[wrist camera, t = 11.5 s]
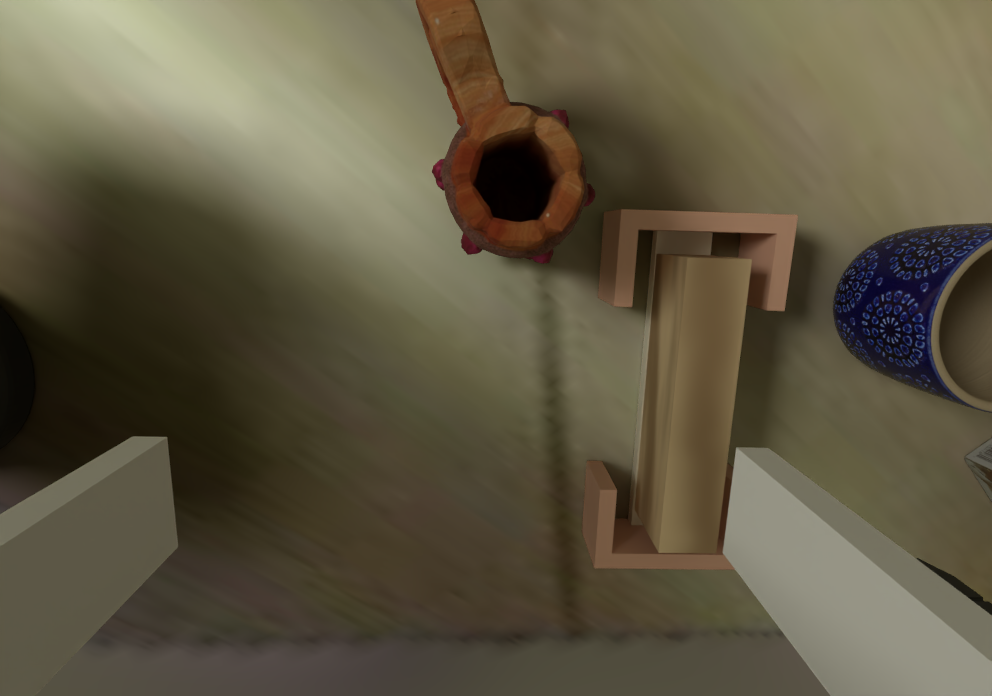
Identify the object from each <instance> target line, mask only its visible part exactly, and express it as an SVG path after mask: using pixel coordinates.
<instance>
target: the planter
mask: <svg viewBox="0 0 992 696" xmlns="http://www.w3.org/2000/svg"><path fill="white" fill-rule="evenodd" d="M833 315H834V322H835V326H836V329H837V332H838V334H839V336H840V338H841V340H842V342H843V343H844V345H845V346H846V348H847V349H848V350H849V352H850V353H851V354H852V355H853V356H855V357H856V358H857V359H858V360H860V361H861V362H862V363H863V364H865V365H866V366H868V367H870V368H871V369H873V370H875V371H877V372H879V373H881V374H883V375H885V376H888V377H890V378H892V379H894V380H896V381H899V382H901V383H904V384H906V385H909V386H911V387H914V388H917V389H919V390H922V391H924V392H927V393H929V394H932V395H935V396H938V397H941V398H944V399H947V400H950V401H952V402H955V403H958V404H961V405H964V406H968V407H971V408H974V409H978V410H981V411H985V412H991V413H992V223H979V224H955V225H941V226H931V227H923V228H915V229H910V230H906V231H902V232H899V233H895V234H892V235H889V236H887V237H885V238H883V239H881V240H879V241H877V242H875V243H874V244H872V245H871V246H869V247H868V248H867V249H865V250H864V251H863V252H861V253H860V254H859V255H858V256H857V257H856V258H855V259H854V260H853V261H852V262H851V264H850V265H849V266H848V267H847V269H846V270H845V272H844V273H843V275H842V277H841V279H840V281H839V283H838V285H837V288H836V291H835V295H834V301H833Z"/></svg>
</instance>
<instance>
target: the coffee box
mask: <svg viewBox="0 0 992 696" xmlns="http://www.w3.org/2000/svg"><path fill="white" fill-rule="evenodd" d="M965 461H966V462H967V464H968V466H969V467H970V469H971V470H972V472H973V473H974V475H975V477H976V478H977V480H978V481H979V483H980V484H981V486H982V487H983V489H984V490H985V492H986V493H987V495H988V497H989V498H990V500H991V501H992V438H991V439H990V440H988V441H987V442H985V443H984V444H983V445H981V446H980V447H978V448H977V449H975V450H974V451H973V452H971V453H970V454H968V455H967V456H966V457H965Z"/></svg>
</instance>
